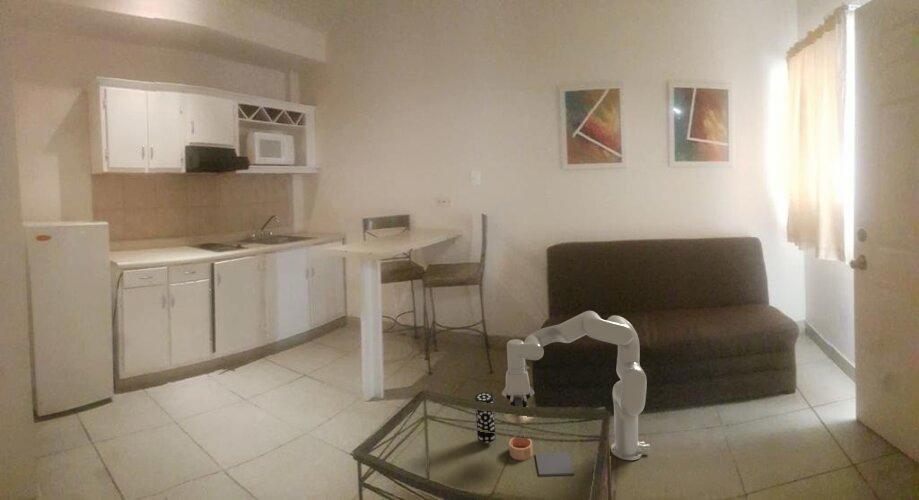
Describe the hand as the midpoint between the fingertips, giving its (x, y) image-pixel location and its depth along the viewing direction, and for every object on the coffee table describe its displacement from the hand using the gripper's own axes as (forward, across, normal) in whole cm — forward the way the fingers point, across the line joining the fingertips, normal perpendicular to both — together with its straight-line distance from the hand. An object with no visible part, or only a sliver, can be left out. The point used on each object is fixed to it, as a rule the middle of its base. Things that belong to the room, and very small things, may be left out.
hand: (518, 408), depth 193 cm
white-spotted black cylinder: (+19, +15, -9) cm, 25 cm away
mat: (+21, -13, +8) cm, 26 cm away
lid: (+3, 0, 0) cm, 3 cm away
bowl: (+21, 0, 0) cm, 21 cm away
